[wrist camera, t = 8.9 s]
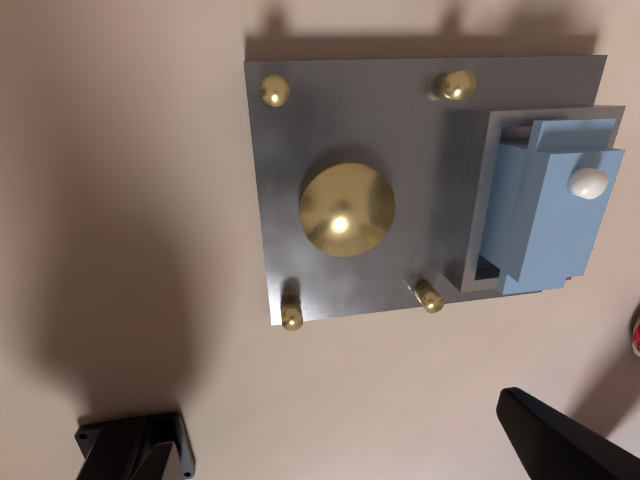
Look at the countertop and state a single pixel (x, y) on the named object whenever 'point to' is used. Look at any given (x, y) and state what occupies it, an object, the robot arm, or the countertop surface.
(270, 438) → the countertop surface
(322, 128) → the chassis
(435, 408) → the countertop surface
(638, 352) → the soda can
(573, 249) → the servo
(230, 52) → the countertop surface
